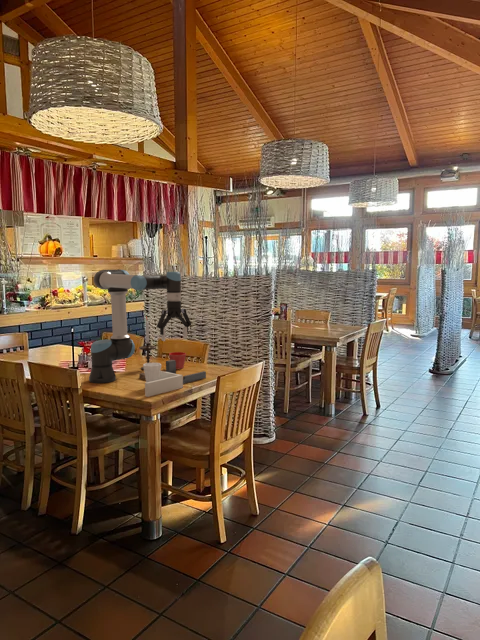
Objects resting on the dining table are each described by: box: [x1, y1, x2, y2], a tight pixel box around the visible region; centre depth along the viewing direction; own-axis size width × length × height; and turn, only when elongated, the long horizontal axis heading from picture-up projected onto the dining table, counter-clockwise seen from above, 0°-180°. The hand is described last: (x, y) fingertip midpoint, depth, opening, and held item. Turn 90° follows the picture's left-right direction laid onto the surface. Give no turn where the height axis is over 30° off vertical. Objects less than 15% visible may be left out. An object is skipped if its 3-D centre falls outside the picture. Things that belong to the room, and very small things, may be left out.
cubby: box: [144, 370, 184, 398], centre depth 258 cm, size 19×24×7 cm
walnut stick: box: [139, 372, 146, 381], centre depth 280 cm, size 16×3×3 cm, turn 49°
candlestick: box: [138, 315, 157, 371], centre depth 309 cm, size 11×11×35 cm
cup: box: [142, 362, 162, 383], centre depth 261 cm, size 10×10×13 cm
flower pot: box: [168, 351, 187, 370], centre depth 313 cm, size 11×11×10 cm
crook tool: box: [165, 359, 207, 385], centre depth 280 cm, size 14×20×12 cm
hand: (174, 339), depth 257 cm, fingers open, 13 cm apart
